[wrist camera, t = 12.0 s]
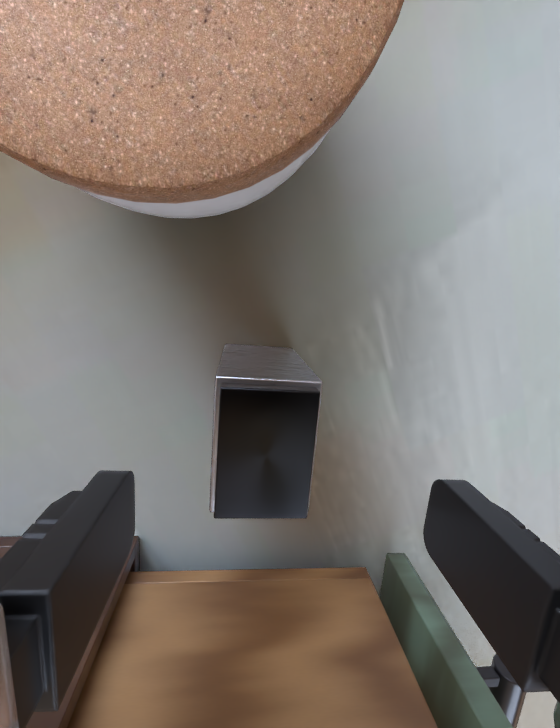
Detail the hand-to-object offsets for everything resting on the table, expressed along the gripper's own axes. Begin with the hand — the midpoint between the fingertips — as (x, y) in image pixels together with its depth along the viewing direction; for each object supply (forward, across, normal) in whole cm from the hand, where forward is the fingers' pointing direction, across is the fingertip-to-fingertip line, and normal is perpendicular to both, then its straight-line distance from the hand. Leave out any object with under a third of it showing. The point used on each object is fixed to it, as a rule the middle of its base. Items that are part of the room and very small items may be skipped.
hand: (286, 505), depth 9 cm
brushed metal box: (+10, +1, 0) cm, 10 cm away
